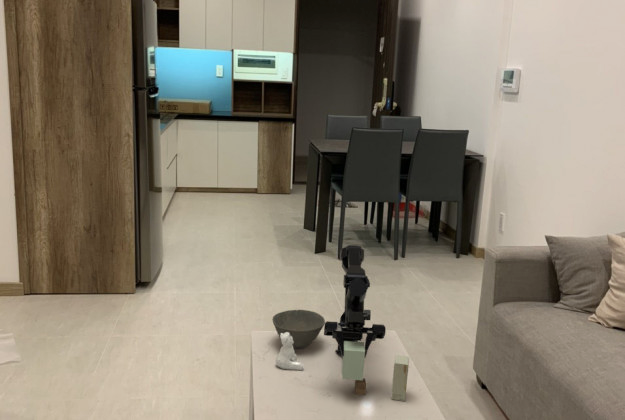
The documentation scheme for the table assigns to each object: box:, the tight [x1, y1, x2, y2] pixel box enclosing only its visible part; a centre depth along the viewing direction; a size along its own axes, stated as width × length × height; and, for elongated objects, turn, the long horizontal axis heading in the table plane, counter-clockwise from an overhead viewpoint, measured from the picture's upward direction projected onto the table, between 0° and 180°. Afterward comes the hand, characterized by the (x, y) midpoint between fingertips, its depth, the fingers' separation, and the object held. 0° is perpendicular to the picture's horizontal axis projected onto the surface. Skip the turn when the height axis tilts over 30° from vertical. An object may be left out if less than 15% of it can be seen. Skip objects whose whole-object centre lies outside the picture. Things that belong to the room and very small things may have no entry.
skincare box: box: [390, 354, 410, 402], centre depth 192 cm, size 6×4×12 cm
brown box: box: [354, 377, 367, 396], centre depth 194 cm, size 3×3×4 cm
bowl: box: [272, 309, 326, 349], centre depth 223 cm, size 19×19×10 cm
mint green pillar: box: [341, 341, 366, 381], centre depth 190 cm, size 6×6×10 cm
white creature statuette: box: [275, 332, 305, 371], centre depth 207 cm, size 10×9×12 cm
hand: (353, 357), depth 188 cm, fingers closed on mint green pillar, 6 cm apart
